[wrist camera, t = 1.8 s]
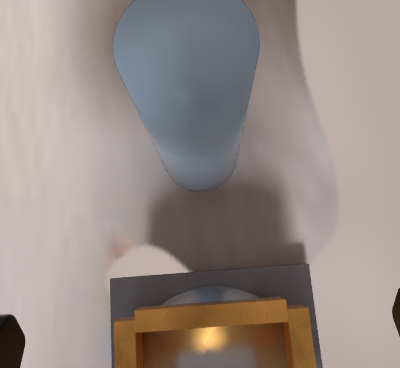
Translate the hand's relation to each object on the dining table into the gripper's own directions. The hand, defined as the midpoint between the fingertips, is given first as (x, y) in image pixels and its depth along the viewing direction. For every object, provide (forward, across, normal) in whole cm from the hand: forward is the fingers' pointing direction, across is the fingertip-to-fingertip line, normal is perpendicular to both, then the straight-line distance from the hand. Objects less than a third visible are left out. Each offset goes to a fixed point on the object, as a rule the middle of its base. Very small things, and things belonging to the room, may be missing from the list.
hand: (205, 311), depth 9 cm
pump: (+15, 0, +4) cm, 15 cm away
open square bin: (+6, 0, +13) cm, 14 cm away
